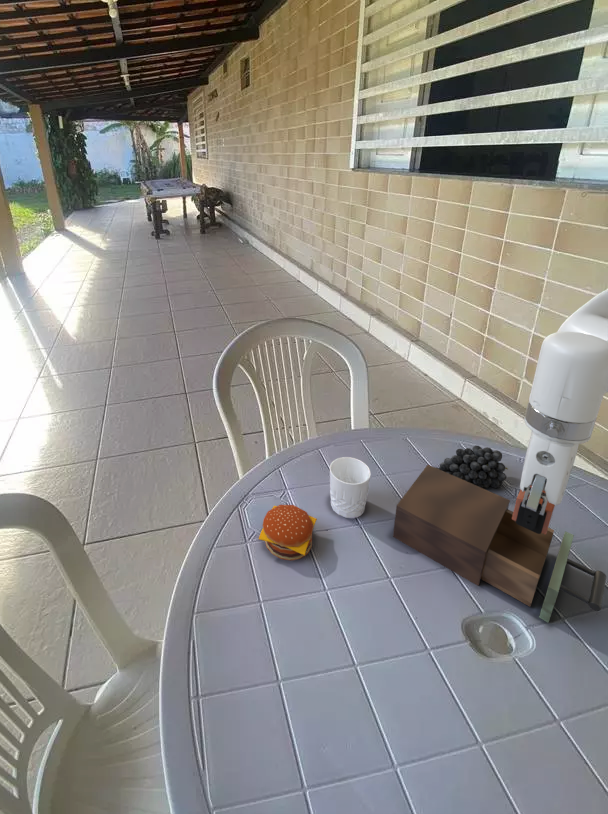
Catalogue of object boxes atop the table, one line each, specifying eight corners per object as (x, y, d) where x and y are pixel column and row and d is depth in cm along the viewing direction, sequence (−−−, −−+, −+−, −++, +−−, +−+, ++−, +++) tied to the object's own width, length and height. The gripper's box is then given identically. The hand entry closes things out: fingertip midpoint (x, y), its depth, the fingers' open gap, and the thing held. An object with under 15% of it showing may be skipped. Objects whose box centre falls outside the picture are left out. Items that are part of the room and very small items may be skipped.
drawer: (601, 582, 69) (613, 552, 67) (590, 646, 61) (602, 615, 58) (477, 522, 82) (483, 494, 79) (453, 568, 73) (458, 539, 71)
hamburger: (317, 530, 83) (318, 504, 81) (305, 572, 75) (306, 545, 73) (271, 516, 87) (271, 491, 85) (256, 555, 79) (255, 528, 76)
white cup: (340, 488, 93) (342, 451, 90) (374, 507, 88) (378, 468, 84) (320, 509, 88) (321, 471, 84) (354, 530, 83) (357, 490, 79)
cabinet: (501, 535, 80) (510, 500, 77) (477, 589, 70) (486, 552, 67) (422, 496, 90) (427, 464, 87) (392, 540, 80) (396, 505, 77)
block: (551, 517, 66) (558, 495, 64) (546, 535, 63) (552, 512, 61) (518, 503, 69) (523, 481, 67) (511, 519, 66) (516, 497, 64)
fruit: (438, 454, 88) (514, 453, 87) (423, 441, 97) (493, 440, 95) (439, 494, 89) (515, 494, 87) (424, 478, 97) (494, 477, 95)
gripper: (583, 461, 51) (550, 569, 58) (600, 402, 62) (571, 498, 69) (511, 436, 56) (488, 538, 63) (539, 386, 67) (517, 477, 74)
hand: (532, 516), depth 66 cm, fingers closed on block, 4 cm apart
